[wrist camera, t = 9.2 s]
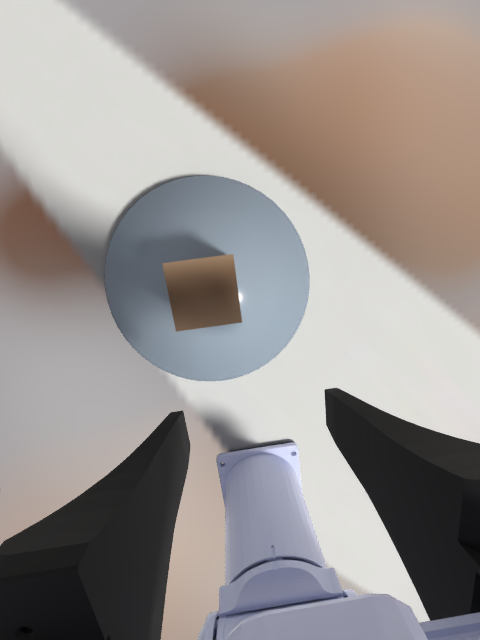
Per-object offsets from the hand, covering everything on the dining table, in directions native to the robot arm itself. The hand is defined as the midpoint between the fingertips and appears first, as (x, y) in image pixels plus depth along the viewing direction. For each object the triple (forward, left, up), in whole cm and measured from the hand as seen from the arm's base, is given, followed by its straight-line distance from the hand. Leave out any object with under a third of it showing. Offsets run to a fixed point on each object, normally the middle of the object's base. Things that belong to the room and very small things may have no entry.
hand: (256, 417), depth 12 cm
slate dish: (+6, +2, -9) cm, 11 cm away
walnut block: (+6, +2, -8) cm, 11 cm away
